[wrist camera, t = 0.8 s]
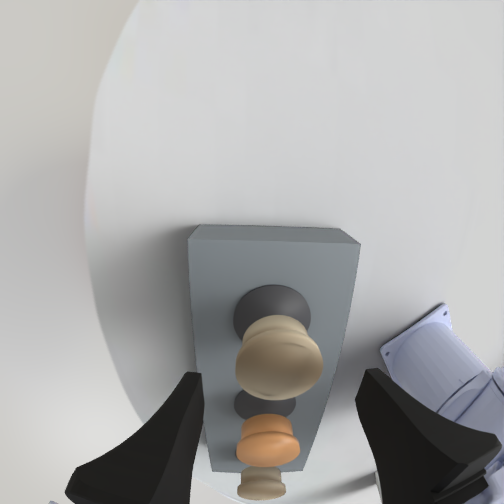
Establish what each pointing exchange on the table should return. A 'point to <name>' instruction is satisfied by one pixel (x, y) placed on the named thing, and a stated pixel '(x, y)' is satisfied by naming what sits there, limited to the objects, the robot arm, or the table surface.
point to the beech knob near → (277, 359)
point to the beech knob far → (261, 483)
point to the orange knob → (267, 441)
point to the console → (259, 306)
